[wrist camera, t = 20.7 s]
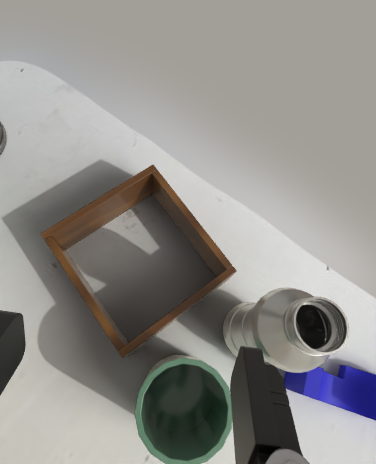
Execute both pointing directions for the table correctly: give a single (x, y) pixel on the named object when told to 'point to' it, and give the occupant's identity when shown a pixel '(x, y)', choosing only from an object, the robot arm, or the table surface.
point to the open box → (109, 209)
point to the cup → (183, 411)
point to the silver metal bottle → (288, 329)
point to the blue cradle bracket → (337, 388)
